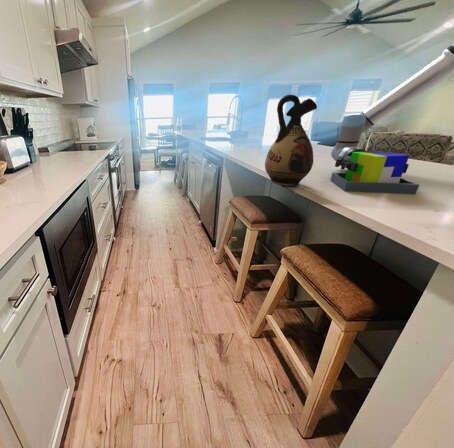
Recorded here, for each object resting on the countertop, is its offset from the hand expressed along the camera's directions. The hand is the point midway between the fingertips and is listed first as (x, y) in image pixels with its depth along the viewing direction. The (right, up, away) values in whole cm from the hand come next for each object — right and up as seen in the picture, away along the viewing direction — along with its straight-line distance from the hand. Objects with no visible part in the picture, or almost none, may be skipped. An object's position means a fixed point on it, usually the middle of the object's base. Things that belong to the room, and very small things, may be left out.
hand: (380, 168), depth 77 cm
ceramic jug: (-24, -3, +14) cm, 28 cm away
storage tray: (+1, -5, +6) cm, 8 cm away
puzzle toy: (+1, -4, +5) cm, 7 cm away
